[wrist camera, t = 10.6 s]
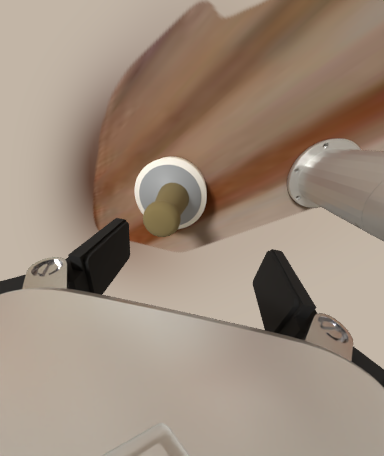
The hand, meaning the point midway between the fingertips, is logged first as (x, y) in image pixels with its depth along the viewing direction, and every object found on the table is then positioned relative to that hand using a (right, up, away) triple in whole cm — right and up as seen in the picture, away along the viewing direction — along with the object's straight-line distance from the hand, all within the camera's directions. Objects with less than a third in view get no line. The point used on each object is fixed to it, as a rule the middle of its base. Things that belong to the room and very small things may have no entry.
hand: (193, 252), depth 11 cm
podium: (-4, +10, +24) cm, 26 cm away
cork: (-4, +7, +20) cm, 22 cm away
